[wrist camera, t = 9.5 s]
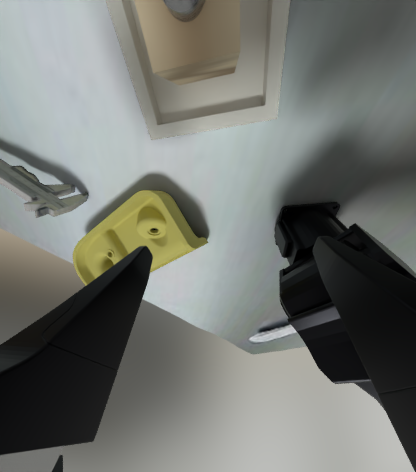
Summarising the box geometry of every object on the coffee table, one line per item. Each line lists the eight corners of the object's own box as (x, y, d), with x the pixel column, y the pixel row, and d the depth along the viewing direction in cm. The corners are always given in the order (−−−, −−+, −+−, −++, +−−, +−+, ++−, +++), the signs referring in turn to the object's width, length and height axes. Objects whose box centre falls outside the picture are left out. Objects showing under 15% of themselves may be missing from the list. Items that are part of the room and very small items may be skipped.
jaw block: (231, -37, 9) (240, -243, 4) (234, 73, 12) (241, 45, 7) (160, -12, 10) (83, -156, 4) (179, 85, 13) (145, 69, 7)
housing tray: (299, -185, 7) (320, -268, 5) (271, 117, 14) (276, 118, 12) (91, -90, 9) (62, -132, 7) (158, 137, 16) (151, 140, 14)
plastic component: (150, 180, 16) (197, 258, 17) (180, 184, 23) (212, 240, 24) (63, 253, 24) (99, 306, 25) (105, 240, 30) (132, 281, 31)
